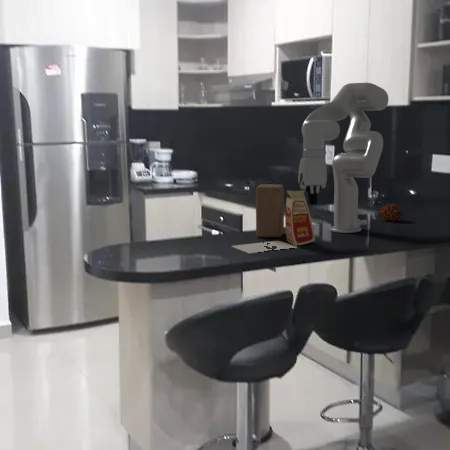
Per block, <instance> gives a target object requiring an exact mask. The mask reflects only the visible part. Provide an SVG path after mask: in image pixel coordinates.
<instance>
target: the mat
mask: <svg viewBox="0 0 450 450" xmlns="http://www.w3.org/2000/svg"><path fill="white" fill-rule="evenodd" d="M267 243H270V244H268V245H267ZM264 246H268V247H270V248H272V246H276V247H277V248H276V249H274V250H278V251H281V250H280V249H287V250H290V249H289V248H295V249H298V248H297V247H298V246H294V245H292V244H290V243H288V242H284V241H281V240H272V241H264V243H263V242H256V243H255V242H253V243H244V244H235V245H231V248H233V249H236V250H238V251H241V252H244V253H245V252H246V253H245V254H249V255H252V254H259V253H258V252H261V253H265V252H264V251H268V250H272V249H267V248H266V247H264Z"/></svg>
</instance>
